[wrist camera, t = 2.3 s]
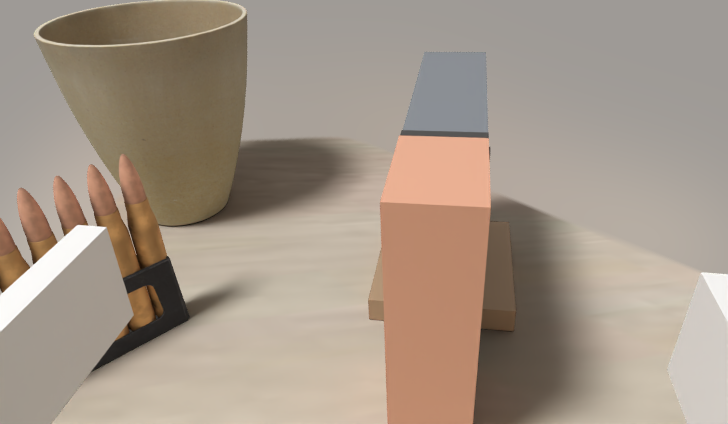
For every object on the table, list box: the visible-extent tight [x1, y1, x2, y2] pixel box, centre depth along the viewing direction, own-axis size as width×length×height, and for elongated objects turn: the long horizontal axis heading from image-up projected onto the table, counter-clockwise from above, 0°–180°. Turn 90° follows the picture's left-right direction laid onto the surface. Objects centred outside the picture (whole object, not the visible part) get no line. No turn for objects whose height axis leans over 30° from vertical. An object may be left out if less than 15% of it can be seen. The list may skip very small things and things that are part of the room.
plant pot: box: [34, 0, 247, 226], centre depth 46 cm, size 15×15×16 cm
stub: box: [380, 135, 491, 424], centre depth 27 cm, size 6×4×14 cm, turn 170°
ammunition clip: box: [0, 154, 189, 372], centre depth 32 cm, size 11×2×12 cm, turn 132°
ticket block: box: [368, 52, 516, 331], centre depth 36 cm, size 14×9×14 cm, turn 170°
